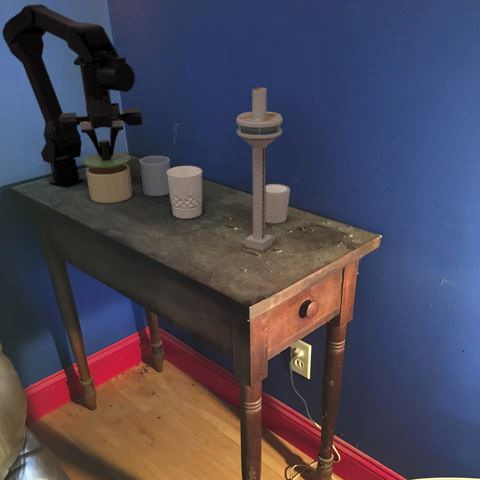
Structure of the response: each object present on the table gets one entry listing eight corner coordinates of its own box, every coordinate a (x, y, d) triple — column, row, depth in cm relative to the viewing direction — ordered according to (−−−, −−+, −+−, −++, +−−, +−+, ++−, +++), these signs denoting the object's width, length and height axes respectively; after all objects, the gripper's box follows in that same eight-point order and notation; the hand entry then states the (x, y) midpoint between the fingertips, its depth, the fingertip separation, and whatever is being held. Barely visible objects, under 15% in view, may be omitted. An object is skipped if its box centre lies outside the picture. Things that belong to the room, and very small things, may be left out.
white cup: (206, 207, 133) (204, 166, 128) (201, 220, 127) (199, 177, 121) (174, 207, 134) (170, 165, 129) (167, 219, 127) (163, 176, 122)
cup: (137, 193, 143) (133, 161, 139) (155, 184, 148) (152, 154, 144) (160, 198, 140) (157, 166, 135) (177, 189, 145) (175, 158, 141)
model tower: (266, 257, 110) (268, 95, 94) (231, 248, 114) (226, 90, 98) (286, 241, 116) (291, 87, 100) (251, 233, 120) (251, 83, 104)
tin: (91, 204, 136) (86, 176, 133) (90, 190, 145) (85, 164, 141) (134, 200, 138) (130, 172, 135) (130, 187, 147) (127, 160, 143)
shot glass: (287, 225, 124) (288, 194, 120) (256, 223, 125) (256, 192, 121) (291, 213, 129) (292, 184, 126) (261, 212, 131) (261, 182, 127)
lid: (83, 172, 131) (79, 149, 129) (83, 158, 141) (79, 137, 138) (132, 167, 134) (130, 145, 131) (128, 154, 143) (126, 133, 140)
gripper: (52, 96, 120) (66, 169, 128) (140, 91, 123) (148, 162, 132) (54, 87, 129) (66, 156, 137) (136, 82, 132) (143, 149, 141)
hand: (106, 156), depth 136 cm, fingers closed on lid, 2 cm apart
